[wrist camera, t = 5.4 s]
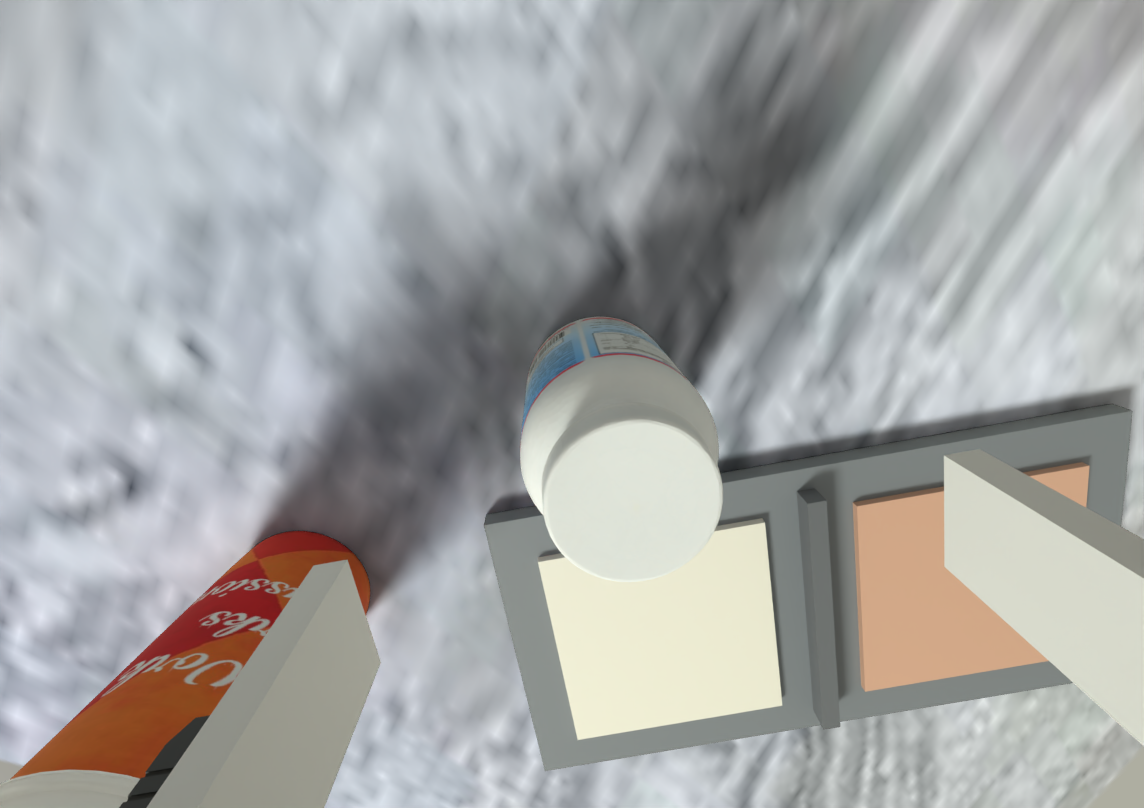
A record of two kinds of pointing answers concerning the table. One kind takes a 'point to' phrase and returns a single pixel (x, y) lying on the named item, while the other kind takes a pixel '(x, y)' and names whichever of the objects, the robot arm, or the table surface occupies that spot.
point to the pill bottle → (619, 452)
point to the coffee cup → (173, 679)
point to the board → (789, 600)
